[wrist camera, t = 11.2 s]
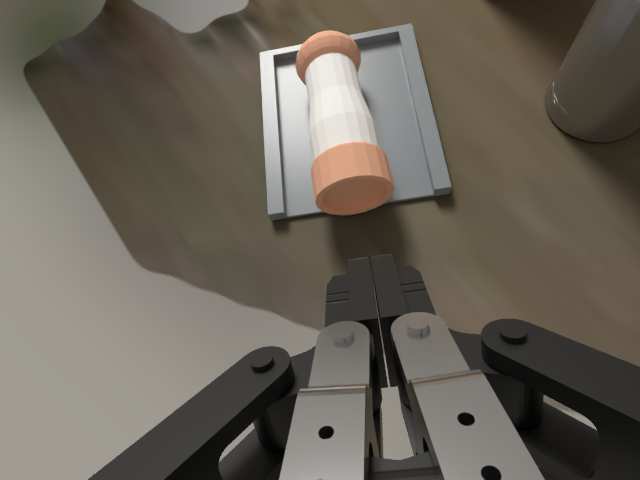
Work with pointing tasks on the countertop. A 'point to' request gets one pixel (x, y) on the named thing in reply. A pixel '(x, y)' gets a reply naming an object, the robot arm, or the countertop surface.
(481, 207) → the countertop surface
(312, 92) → the pepper shaker
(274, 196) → the tray
